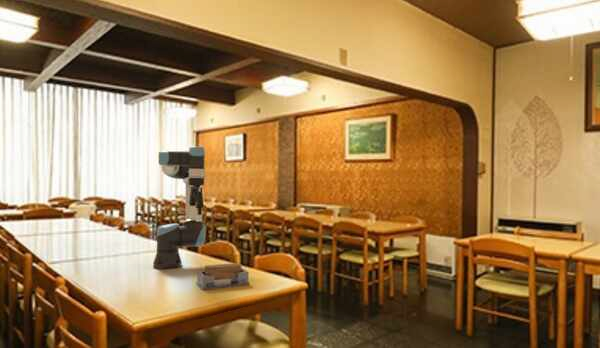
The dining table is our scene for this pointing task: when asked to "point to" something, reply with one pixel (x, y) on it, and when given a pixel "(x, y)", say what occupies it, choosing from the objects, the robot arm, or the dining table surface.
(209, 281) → the bracket
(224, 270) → the brown wooden block
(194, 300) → the dining table surface
